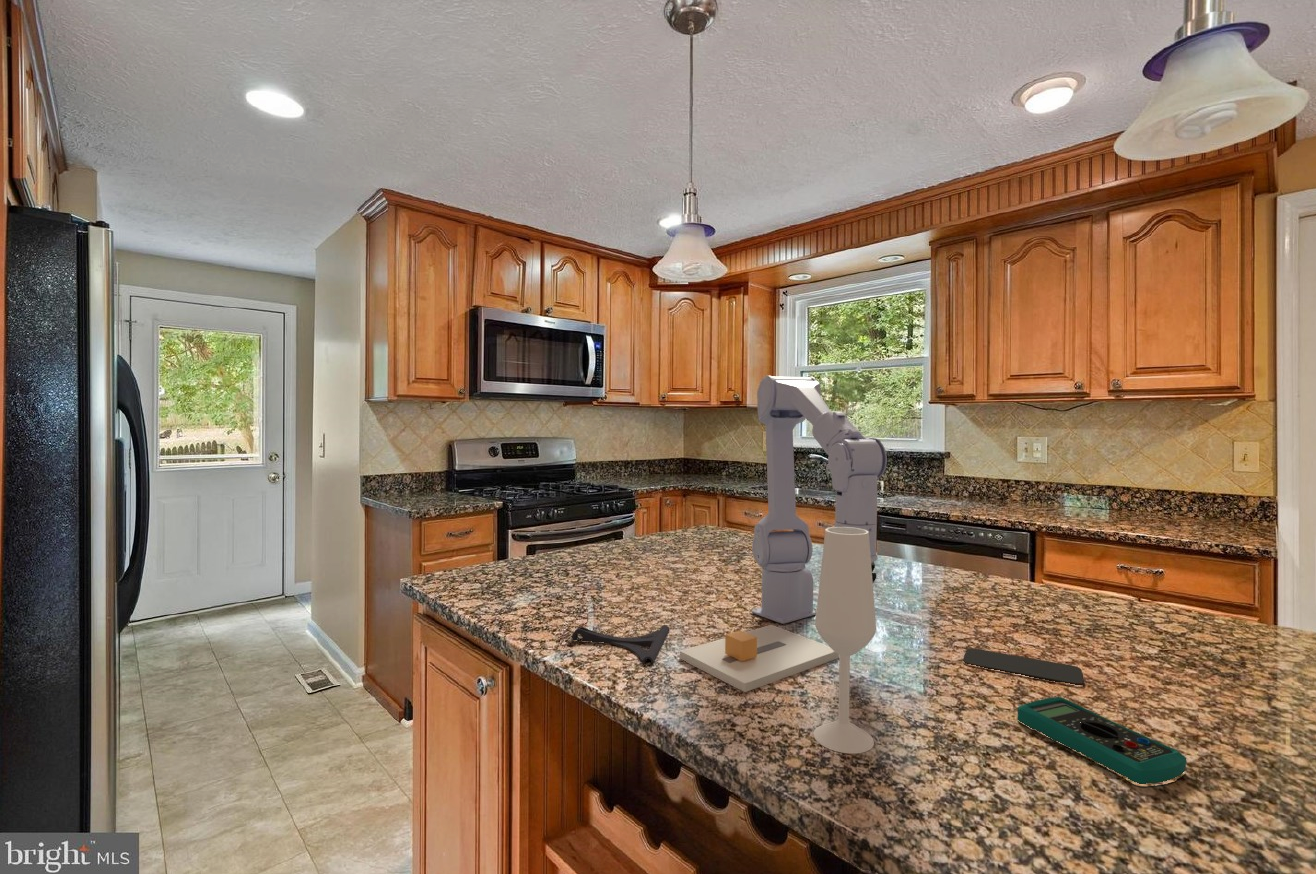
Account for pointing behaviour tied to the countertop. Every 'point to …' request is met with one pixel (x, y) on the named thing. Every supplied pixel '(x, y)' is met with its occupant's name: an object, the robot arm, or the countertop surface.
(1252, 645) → the countertop surface
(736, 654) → the block
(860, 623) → the champagne flute
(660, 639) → the bracket
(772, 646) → the switch panel
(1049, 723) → the digital multimeter
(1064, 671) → the phone
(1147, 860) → the countertop surface
